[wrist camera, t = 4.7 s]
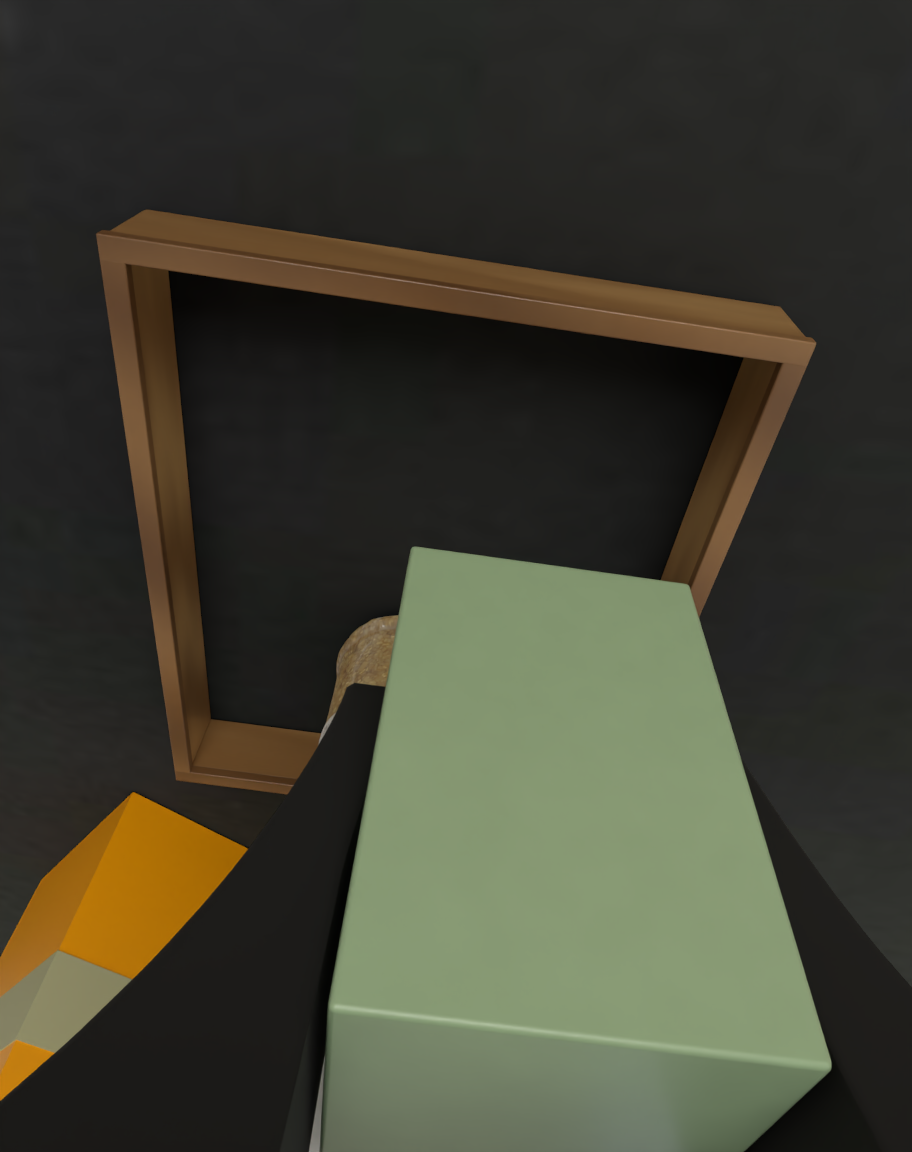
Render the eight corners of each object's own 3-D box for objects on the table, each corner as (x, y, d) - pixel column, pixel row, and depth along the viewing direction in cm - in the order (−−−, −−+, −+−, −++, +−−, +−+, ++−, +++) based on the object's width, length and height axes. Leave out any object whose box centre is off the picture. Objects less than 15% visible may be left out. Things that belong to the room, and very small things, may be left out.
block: (618, 761, 15) (681, 1215, 9) (389, 732, 15) (317, 1173, 9) (690, 582, 12) (837, 1070, 7) (411, 543, 12) (326, 1009, 7)
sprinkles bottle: (309, 649, 24) (144, 1187, 13) (423, 583, 22) (339, 1146, 11) (404, 732, 26) (328, 1254, 15) (515, 678, 24) (518, 1228, 13)
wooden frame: (599, 777, 27) (605, 835, 25) (198, 725, 26) (176, 780, 24) (783, 304, 17) (817, 343, 15) (142, 205, 16) (94, 233, 14)
